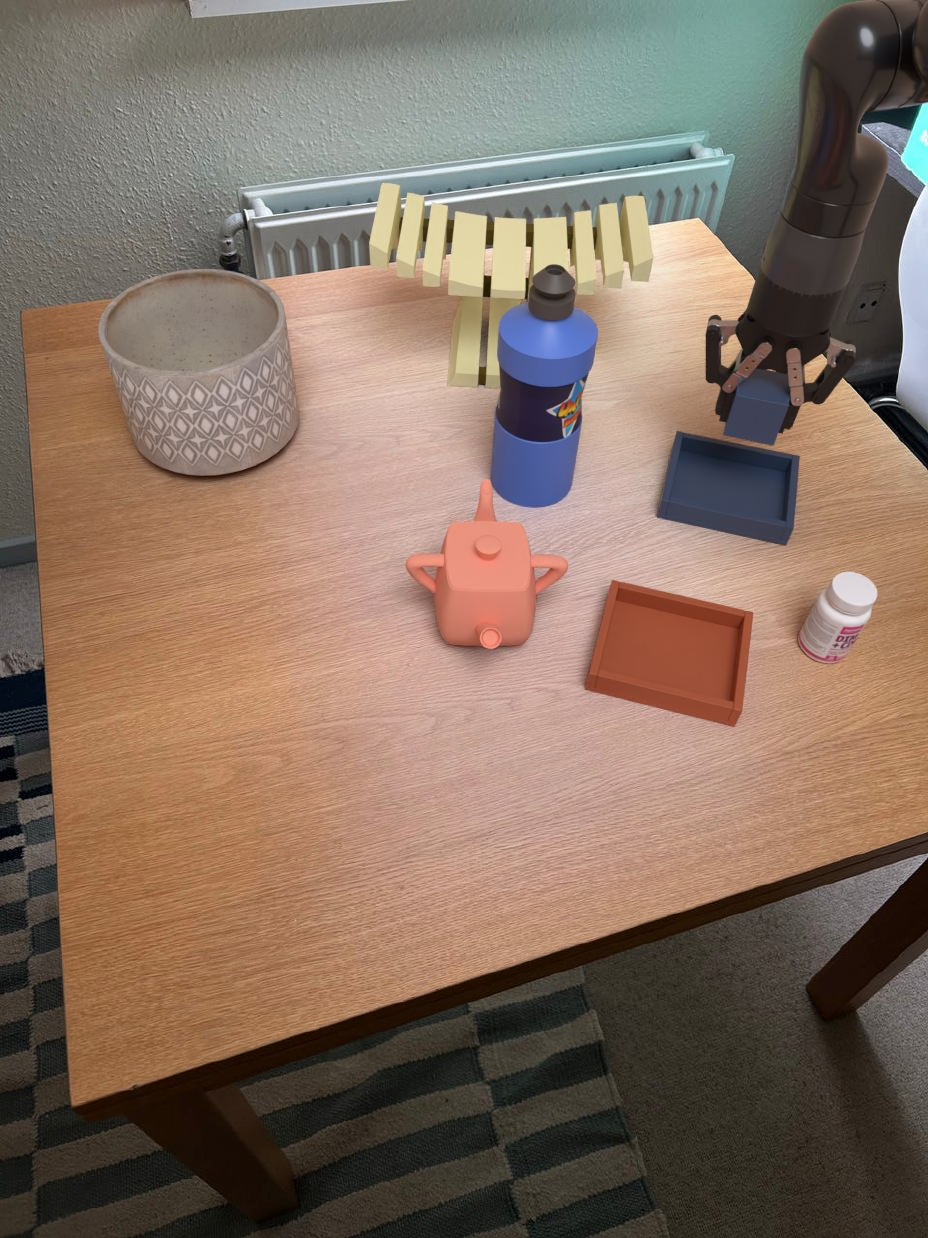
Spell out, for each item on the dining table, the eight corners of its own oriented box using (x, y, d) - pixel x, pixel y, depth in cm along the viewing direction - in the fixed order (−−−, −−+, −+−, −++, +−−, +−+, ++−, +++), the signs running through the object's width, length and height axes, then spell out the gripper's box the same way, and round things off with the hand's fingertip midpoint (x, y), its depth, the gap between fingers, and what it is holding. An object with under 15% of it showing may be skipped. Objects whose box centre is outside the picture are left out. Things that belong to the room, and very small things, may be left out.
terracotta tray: (746, 628, 88) (753, 611, 86) (734, 727, 81) (742, 711, 79) (607, 596, 90) (612, 579, 88) (584, 689, 84) (588, 673, 81)
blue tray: (792, 473, 102) (800, 455, 100) (786, 545, 95) (793, 528, 93) (671, 448, 104) (676, 430, 102) (656, 517, 98) (661, 499, 95)
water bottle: (588, 471, 102) (626, 263, 82) (545, 520, 97) (574, 312, 77) (517, 439, 105) (537, 231, 85) (472, 484, 100) (482, 275, 80)
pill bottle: (827, 673, 85) (861, 617, 79) (786, 641, 88) (816, 584, 81) (858, 648, 87) (893, 591, 81) (817, 617, 90) (848, 559, 83)
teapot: (579, 630, 88) (593, 559, 80) (485, 695, 83) (490, 626, 75) (482, 545, 94) (487, 471, 86) (390, 600, 89) (386, 527, 82)
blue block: (776, 414, 93) (792, 374, 90) (773, 445, 90) (789, 405, 87) (727, 405, 94) (740, 364, 90) (722, 435, 91) (735, 394, 87)
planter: (331, 408, 107) (320, 298, 96) (236, 507, 97) (211, 397, 85) (202, 361, 112) (176, 251, 101) (98, 450, 102) (57, 338, 90)
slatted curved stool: (617, 318, 120) (642, 183, 106) (625, 394, 110) (653, 257, 96) (389, 306, 120) (384, 170, 106) (376, 381, 110) (369, 242, 97)
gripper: (717, 274, 78) (675, 431, 91) (891, 305, 75) (822, 461, 89) (726, 231, 82) (685, 386, 95) (891, 259, 80) (825, 414, 93)
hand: (751, 421), depth 92 cm, fingers closed on blue block, 5 cm apart
